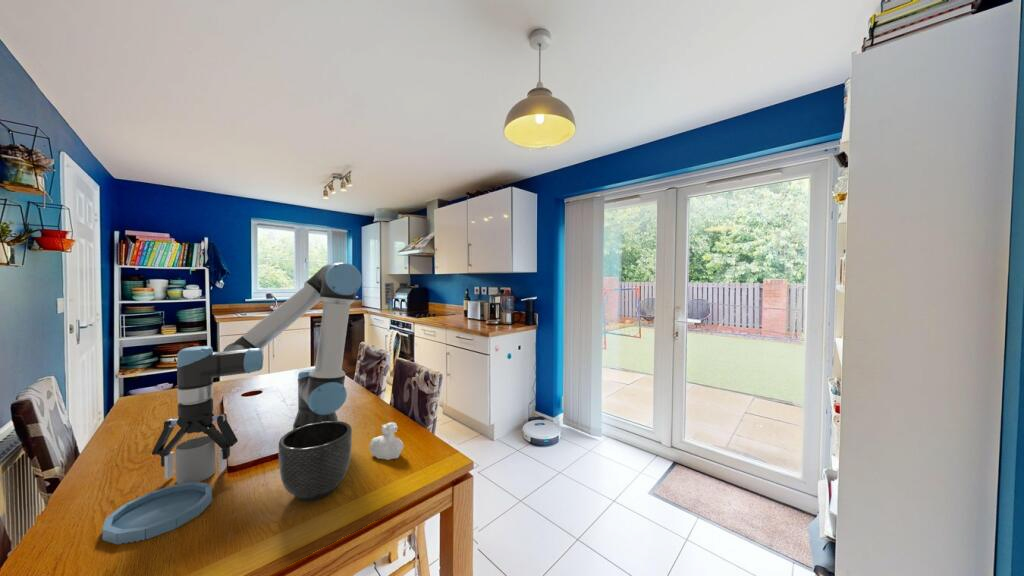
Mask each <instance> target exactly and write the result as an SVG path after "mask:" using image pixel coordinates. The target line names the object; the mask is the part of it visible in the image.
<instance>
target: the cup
mask: <svg viewBox="0 0 1024 576" xmlns="http://www.w3.org/2000/svg"><path fill="white" fill-rule="evenodd" d="M216 450H217V449H216V443H215V442H214V441H213V440H212V439H211V438H210V437H209V436H208V435H203V436H197V437H194V438H190V439H187V440H184V441H182V442H181V443H179V444H176V447H175V473H176V474H175V475H176V476H175V477H176V478H175V479H176V481H175V482H176V483H175V484H183V483H190V482H203V481H204V480H207V479H209V478H210V477H212V476H213V475H215V473H216V469H217V465H216V463H217V461H216V460H217V459H216V457H217V456H216V455H217V454H216Z"/></svg>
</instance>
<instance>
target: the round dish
mask: <svg viewBox="0 0 1024 576" xmlns="http://www.w3.org/2000/svg"><path fill="white" fill-rule="evenodd" d="M212 502H213V490H212V485H211V483H206V482H203V481H200V482H190V483H183V484H177V483H175V484H173V485H168V486H167V487H163V488H160V489H156V490H153V491H149V492H148V493H145V494H143V495H141V496H138V497H137V498H134V499H133V500H130V501H129V502H126V503H125V504H122V505H120V506H119V508H117V509H115V510H114V511H113V512H112V513H110V514H109V515H107V517H105V519H104V522H103V526H102V531H101V533H102V536H101V537H102V541H104V542H107V543H111V544H114V545H122V543H124V544H129V543H128V542H130V543H135V542H134V541H136V542H140V540H142V541H146V540H145V539H147V540H149V539H151V538H153V537H157V536H160V535H162V534H165V533H168V532H171V531H173V530H177V528H179V527H181V526H183V525H185V524H186V523H188V522H190V521H191V520H193V519H195V518H197V517H198V516H200V515H202V513H203V512H205V510H206V509H207V508H208V507H209V506H210V504H212Z"/></svg>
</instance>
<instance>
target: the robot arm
mask: <svg viewBox="0 0 1024 576" xmlns="http://www.w3.org/2000/svg"><path fill="white" fill-rule="evenodd" d="M362 282H363V277H362V274H361V272H360V270H359V269H358V268H357V267H356V266H355V265H353V264H350V263H349V262H348V263H347V262H344V261H343V262H340V261H339V262H334V263H333V262H332V263H328V264H326V265H323V266H322V267H321V268H320V269H318V271H317V272H315V274H313V275H312V276H311V277H310V278H308V279H307V280H306V281H305V282H304V283H303V284H304V285H303V286H302V288H300V289H299V290H298V291H297V292H296V293H295V294H293V295H292V296H290V297H289V298H288V299H287V300H285V301H284V302H283V303H281V304H280V305H279V306H278V307H277V308H276V309H274V310H273V311H272V312H270V313H269V314H268V315H267V316H265V317H264V318H263V319H261V320H260V321H259V322H258V323H256V324H255V325H254V326H253V327H251V328H250V329H249V330H248V331H247V332H245V333H244V334H243V335H242V336H240V337H239V338H238V339H236V340H235V341H234V342H231V343H230V344H227V345H226V346H225V347H224V349H223V351H214V350H213V347H212V346H210V345H203V346H202V345H201V346H200V345H199V346H198V345H196V346H191V347H186V348H182V349H180V350H179V351H178V352H177V358H176V359H177V360H176V361H177V363H176V378H177V379H176V381H177V385H176V386H177V402H178V404H177V416H178V418H175V417H171V418H169V419H167V420H166V421H164V422H163V429H162V431H161V433H160V436H159V438H158V439H157V442H156V443H155V446H154V447H153V449H152V451H151V455H153V456H157V455H158V456H160V465H161V467H162V468H163V467H164V480H168V479H170V478H171V477H172V476H174V475H176V474H175V473H176V451H173V449H174V448H175V446H177V445H178V443H179V442H180V441H181V439H182V438H184V436H185V435H186V434H188V435H189V434H193V433H197V434H199V433H203V434H204V435H206V436H209V437H210V438H211V439H212V440H213V441H214V442H215V445H217V446H218V447H219V448H220V449H218V450H217V451H218V453H217V455H218V459H217V460H218V462H217V463H218V473H222V472H223V471H224V470H226V468H227V466H228V465H227V464H228V463H227V462H228V461H227V460H228V459H229V458H230V455H231V447H233V446H234V445H236V444H237V443H238V442H239V441H238V437H237V436H236V434H235V433H234V431H233V429H232V427H231V426H230V424H229V421H228V418H227V414H226V413H225V412H223V413H221V414H218V415H214V398H213V396H214V378H220V377H228V376H236V375H242V374H251V373H255V372H260V371H261V370H262V369H263V367H264V354H263V349H264V348H265V347H266V346H268V345H269V344H270V343H271V342H273V340H275V339H276V338H277V337H278V336H279V335H281V334H283V332H284V331H286V329H288V328H289V327H290V326H292V325H293V324H294V323H295V322H297V320H299V319H300V318H301V317H302V316H304V315H305V314H306V313H307V312H308V311H309V310H311V309H312V308H313V307H315V305H317V304H318V303H320V302H323V306H322V307H323V308H322V313H321V321H320V327H319V328H320V329H319V337H318V344H317V350H316V351H317V352H316V359H315V365H314V368H309V369H303V370H302V371H301V370H300V372H299V373H298V375H297V376H298V377H297V394H298V395H297V402H298V403H297V405H298V407H297V410H298V411H297V413H296V416H295V419H294V422H293V424H292V430H294V429H296V428H299V427H301V426H304V425H308V424H312V423H316V422H323V421H339V419H338V418H339V417H338V415H337V411H338V410H339V409H341V408H342V407H343V406H344V404H345V402H346V399H347V395H348V394H347V388H346V387H345V380H346V372H345V371H344V370H343V360H344V353H345V345H346V338H347V331H348V323H349V316H350V309H351V304H353V303H354V302H355V301H356V295H357V292H358V290H359V289H360V288H361V285H362ZM213 422H215V424H217V427H218V428H216V425H215V424H214V423H213ZM176 426H178V427H180V429H179V430H177V432H176V434H175V435H174V436H173V438H171V440H170V441H169V438H170V436H171V434H172V433H173V430H174V429H175V427H176ZM218 429H219V430H218ZM168 441H169V443H168ZM167 443H168V444H167ZM166 444H167V445H166Z"/></svg>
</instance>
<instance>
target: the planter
mask: <svg viewBox="0 0 1024 576" xmlns="http://www.w3.org/2000/svg"><path fill="white" fill-rule="evenodd" d="M352 438H353V430H352V426H351V425H350V424H349V423H347V422H346V421H339V420H338V421H323V422H316V423H312V424H308V425H304V426H301V427H299V428H296V429H294V430H293V429H292V430H290V431H288V432H287V433H285V434H284V435H283V436H281V438H280V439H279V441H278V466H279V467H278V468H279V473H280V479H281V483H282V485H283V487H284V489H285V490H286V492H288V493H289V494H290V495H292V496H294V497H296V498H297V499H298V500H300V501H301V502H307V503H308V502H315V501H319V500H321V499H324V498H326V497H328V496H330V494H332V493H333V492H334V491H335V489H336V487H337V486H338V485H339V484H340V483H341V482H342V481H343V479H344V478H345V476H346V475H347V472H348V469H349V467H350V462H351V457H352V456H351V454H352V447H353V446H352V444H353V443H352V442H353V439H352Z"/></svg>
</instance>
